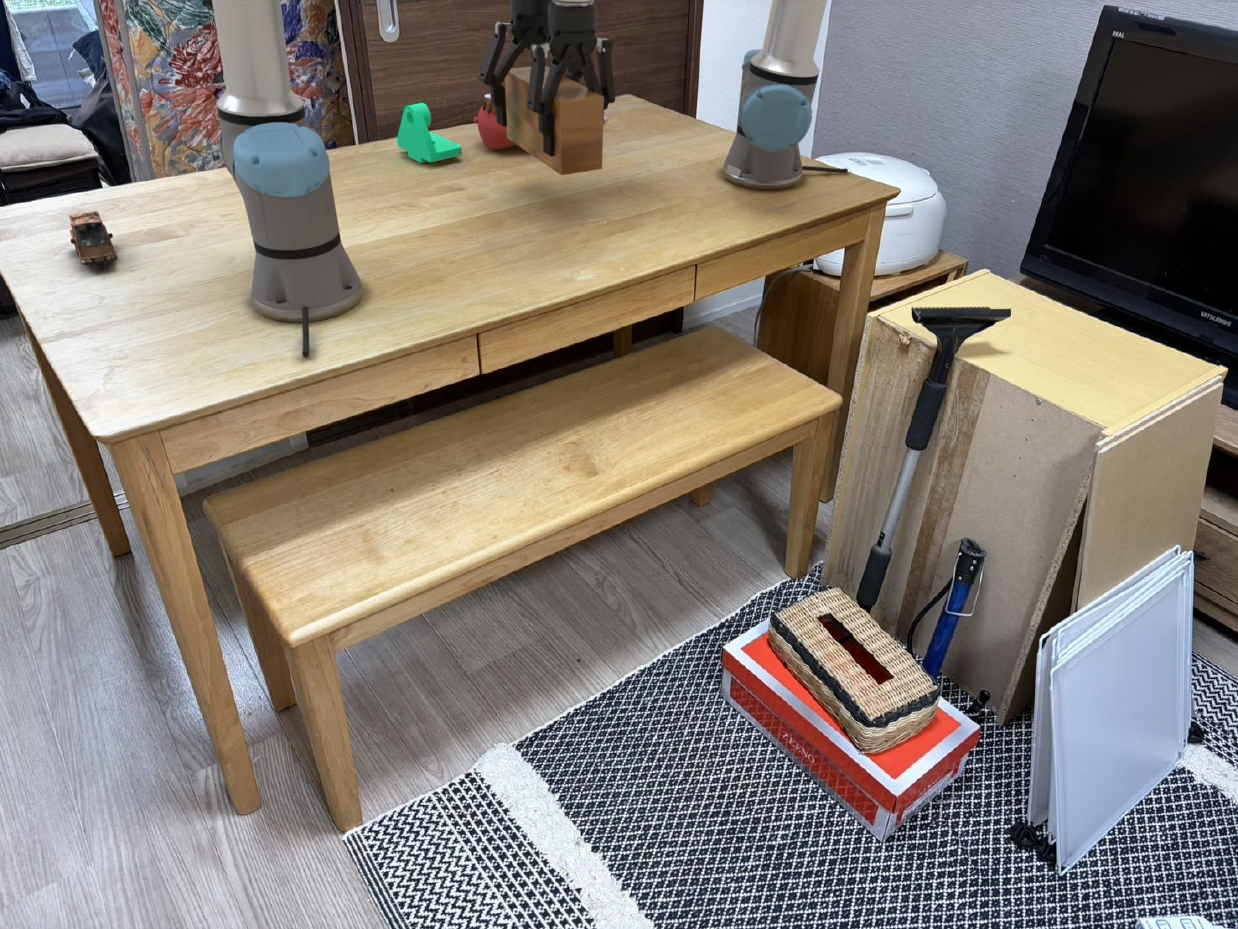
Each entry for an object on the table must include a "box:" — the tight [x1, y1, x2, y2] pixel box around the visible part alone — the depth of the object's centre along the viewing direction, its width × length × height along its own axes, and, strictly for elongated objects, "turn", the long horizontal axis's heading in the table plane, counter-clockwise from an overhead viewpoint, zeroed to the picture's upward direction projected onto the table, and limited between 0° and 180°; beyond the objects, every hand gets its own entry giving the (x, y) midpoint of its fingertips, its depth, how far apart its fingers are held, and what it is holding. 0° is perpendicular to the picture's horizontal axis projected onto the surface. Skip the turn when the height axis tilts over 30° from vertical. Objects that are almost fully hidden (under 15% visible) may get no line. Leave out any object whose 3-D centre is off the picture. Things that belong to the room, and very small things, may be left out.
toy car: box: [68, 210, 118, 272], centre depth 141 cm, size 6×12×7 cm, turn 39°
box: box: [504, 65, 605, 176], centre depth 159 cm, size 22×8×12 cm, turn 30°
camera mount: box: [396, 102, 463, 164], centre depth 182 cm, size 12×8×10 cm, turn 42°
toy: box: [473, 93, 609, 150], centre depth 194 cm, size 18×10×30 cm
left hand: (571, 150), depth 156 cm, fingers closed on box, 8 cm apart
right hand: (536, 119), depth 165 cm, fingers open, 13 cm apart
